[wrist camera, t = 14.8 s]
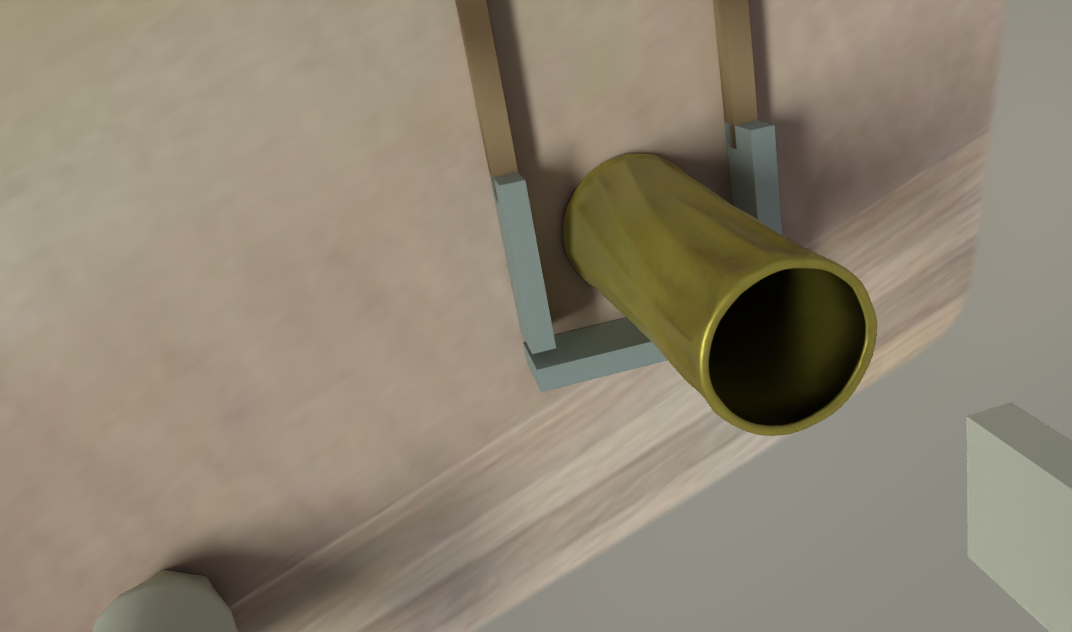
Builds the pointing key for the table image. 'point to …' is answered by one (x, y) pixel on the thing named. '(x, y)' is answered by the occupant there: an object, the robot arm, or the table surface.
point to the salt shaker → (168, 607)
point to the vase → (722, 294)
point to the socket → (621, 339)
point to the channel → (490, 95)
